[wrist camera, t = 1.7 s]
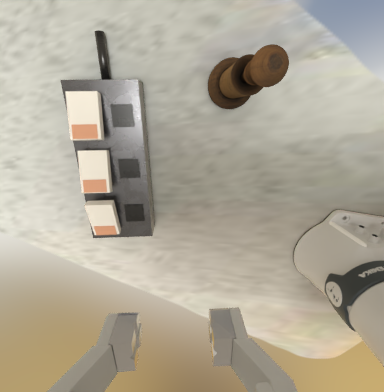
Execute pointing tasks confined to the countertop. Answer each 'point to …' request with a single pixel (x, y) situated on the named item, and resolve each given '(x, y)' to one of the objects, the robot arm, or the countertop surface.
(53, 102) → the countertop surface
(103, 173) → the rocker middle
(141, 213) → the power strip
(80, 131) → the rocker
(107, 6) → the countertop surface
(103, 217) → the block
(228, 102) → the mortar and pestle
